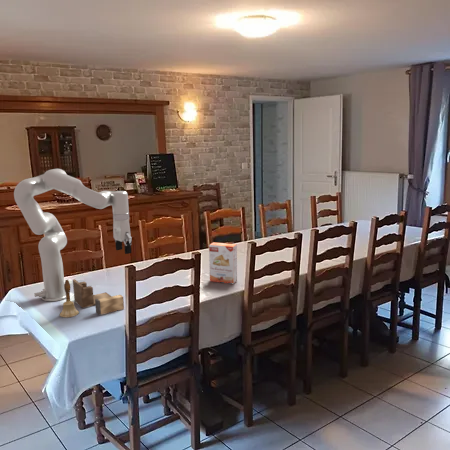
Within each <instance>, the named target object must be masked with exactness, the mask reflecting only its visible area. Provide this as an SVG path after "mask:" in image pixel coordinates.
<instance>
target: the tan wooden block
mask: <svg viewBox="0 0 450 450" xmlns="http://www.w3.org/2000/svg"><path fill="white" fill-rule="evenodd" d="M124 301H125V300H124V296H123V295H122V294H117V295H113V296H112V297H107V298H103V299H95V305H94V307H95V313H96V315H98V316H102V315H105V314H109V312H110V313H114V312H118V311H121V310H125V302H124ZM117 310H118V311H117ZM101 314H102V315H101Z"/></svg>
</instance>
